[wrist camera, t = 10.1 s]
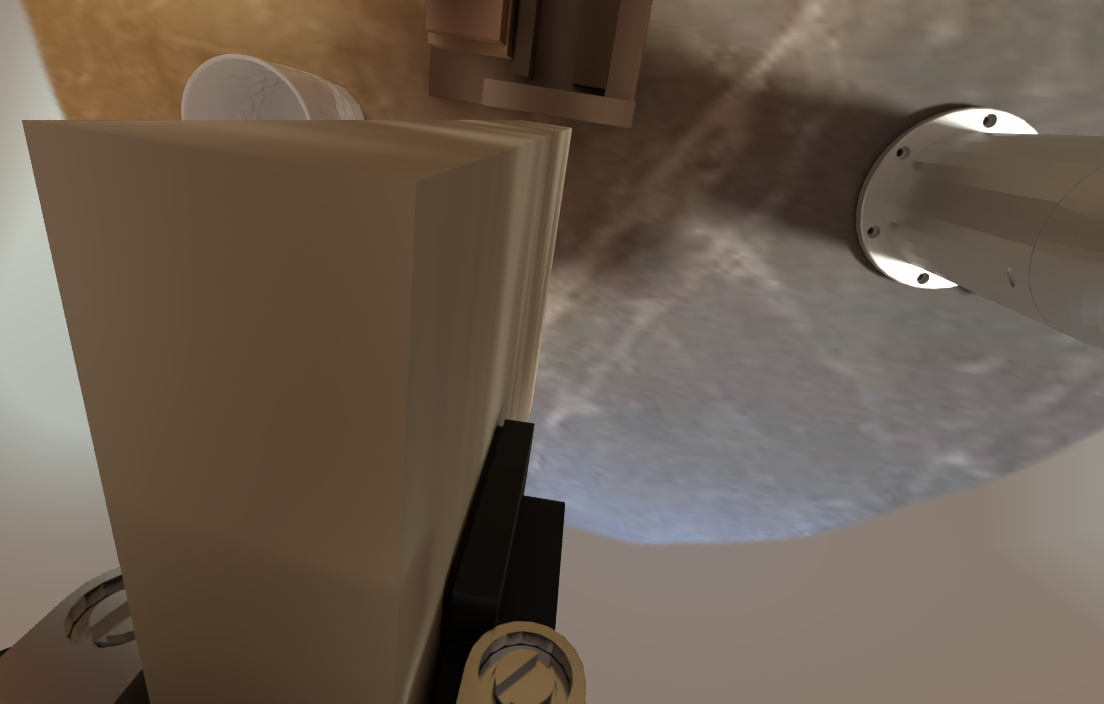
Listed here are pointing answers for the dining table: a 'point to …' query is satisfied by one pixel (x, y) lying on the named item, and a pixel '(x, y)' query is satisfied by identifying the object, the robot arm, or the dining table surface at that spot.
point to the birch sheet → (297, 377)
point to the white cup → (263, 93)
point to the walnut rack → (556, 62)
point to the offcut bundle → (473, 26)
